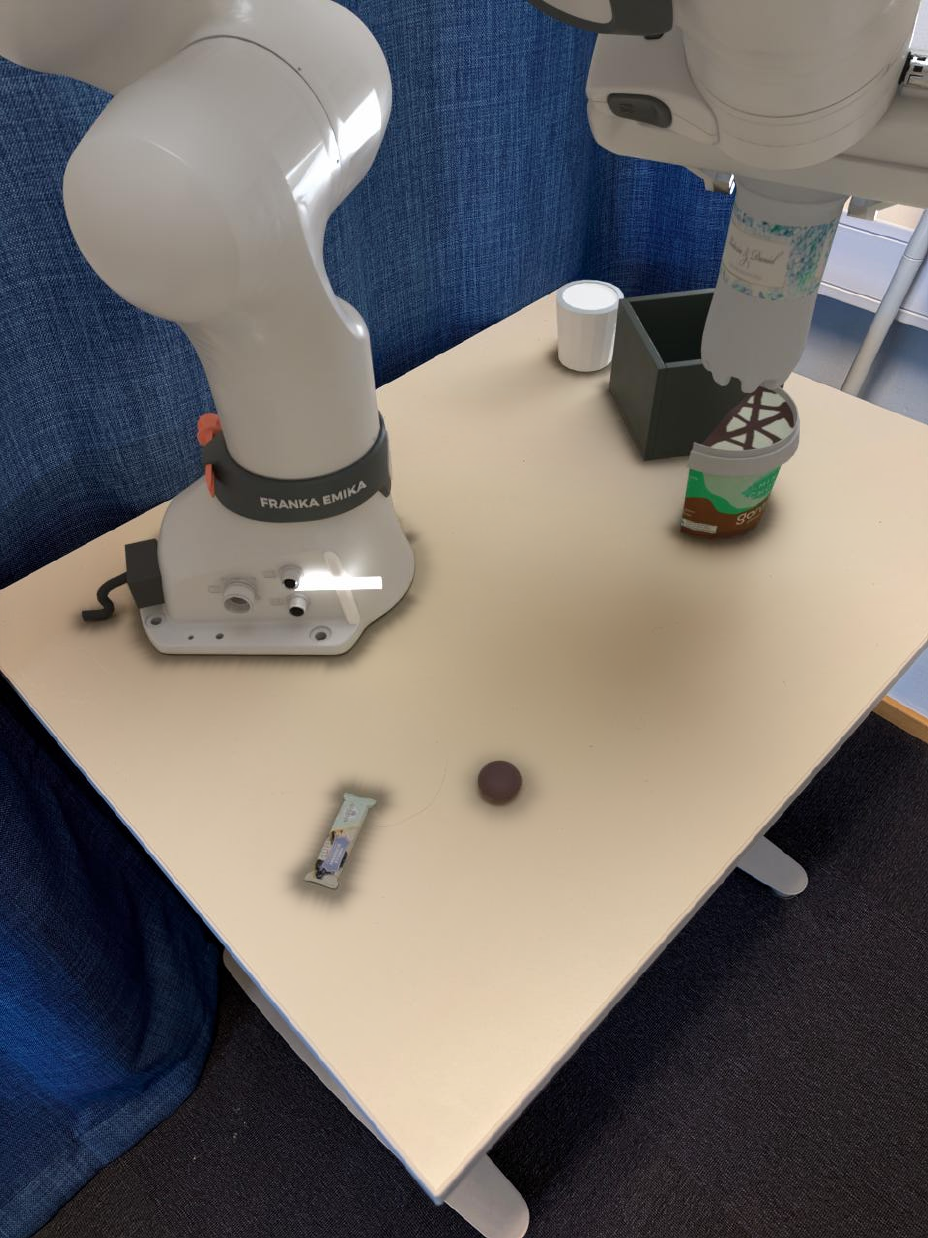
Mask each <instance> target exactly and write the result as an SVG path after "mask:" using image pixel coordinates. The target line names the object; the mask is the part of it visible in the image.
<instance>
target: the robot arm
mask: <svg viewBox="0 0 928 1238" xmlns="http://www.w3.org/2000/svg"><path fill="white" fill-rule="evenodd" d="M524 1H525V2H526V3H528V4H530V5H531V6H532V7H533V8H535V9H537V10H538V11H540V12H541V13H543V14H545V15H546V16H548V17H550V18H552V19H554V20H556V21H559V22H560V23H562V24H565V25H568V26H570V27H572V28H576V29H579V30H582V31H585V32H590V33H595V34H597V38H596V41H595V45H594V49H593V53H592V56H591V61H590V64H589V69H588V73H587V74H588V75H587V80H586V86H585V95H586V97H587V104H586V115H587V120H588V124H589V128H590V132H591V134H592V136H593V139H594V141H595V142H596V143H597V144H598V145H599V146H600V147H602V148H604V149H605V150H606V151H609V152H611V153H613V154H615V155H618V156H623V157H632V158H636V159H641V160H648V161H653V162H658V163H666V164H670V165H677V166H681V167H684V168H685V169H687V170H688V171H690V172H691V173H693V174H694V175H696V176H697V177H699V178H700V179H701V180H703V183H704V188H705V191H709V192H714V193H719V194H724V195H725V194H726V195H732V193H733V191H734V188H735V179H734V175H736V176H742V177H748V178H753V179H759V180H764V181H770V182H776V183H781V184H787V185H792V186H798V187H804V188H809V189H815V190H820V191H826V192H832V193H837V194H843V195H848V196H850V200H849V203H848V205H847V206H848V207H847V213H846V217H850V218H855V219H860V220H865V221H870V222H875V219H876V217H877V214H878V212H879V211H883V210H885V209H888V208H892V207H894V206H897V205H899V206H904V207H905V206H906V207H910V208H916V209H921V210H927V211H928V49H926V48H918V47H911V46H912V42H913V38H914V33H915V28H916V25H917V21H918V17H919V12H920V8H921V3H922V0H524ZM0 56H1V57H2V58H4V59H6V60H7V61H10V62H11V63H13V64H16V65H18V66H21V67H23V68H26V69H29V70H32V71H36V72H40V73H45V74H52V75H58V76H64V77H66V78H69V79H74V80H77V81H80V82H83V83H85V84H88V85H90V86H93V87H95V88H97V89H99V90H101V91H104V92H106V93H108V94H110V95H111V96H113V98H111V100H110V101H109V102H108V104H107V105H106V106H105V108H104V109H102V111H101V113H100V114H99V115H98V116H97V118H96V119H95V120H94V122H93V123H92V124H91V126H90V127H89V129H88V130H87V131H86V133H85V135H84V136H83V137H82V139H81V141H80V142H79V143H78V145H77V146H76V148H75V149H74V151H73V152H72V154H71V156H70V158H68V161H67V164H66V165H65V166H66V167H65V170H64V173H63V181H62V198H63V206H64V211H65V215H66V219H67V223H68V225H69V228H70V230H71V233H72V236H73V239H74V240H75V242H76V244H77V246H78V248H79V250H80V252H81V253H82V255H83V257H84V258H85V260H86V262H87V263H88V264H89V266H90V267H91V268H92V270H93V271H94V272H95V274H97V276H98V277H99V279H101V280H102V282H104V283H105V284H106V285H107V286H108V288H110V289H111V290H112V292H114V293H115V294H116V295H118V296H119V297H120V298H122V299H123V300H124V301H126V302H127V303H129V304H130V305H131V306H134V307H135V308H137V309H139V310H141V311H143V312H145V313H147V314H148V315H150V316H153V317H156V318H158V319H162V320H165V321H169V322H173V323H175V324H176V325H177V326H178V327H179V328H180V329H181V330H182V332H183V333H184V334H185V336H186V337H187V338H188V340H189V342H190V343H191V345H192V347H193V348H194V350H195V352H196V354H197V356H198V359H199V360H200V362H201V365H202V368H203V370H204V373H205V376H206V381H207V383H208V387H209V390H210V392H211V397H212V400H213V402H214V406H215V410H216V413H212V412H208V413H204V414H202V415H201V416H200V417H199V419H198V420H197V433H196V434H197V435H196V438H197V441H198V443H199V444H200V445H201V446H202V449H201V455H200V456H201V457H200V459H201V465H202V470H203V473H204V474H203V475H202V476H200V477H199V478H198V479H196V480H195V481H194V482H192V483H191V484H190V485H189V486H187V487H186V488H184V489H183V490H181V491H180V492H179V493H178V494H176V495H175V496H174V497H173V498H172V499H171V500H170V502H169V503H168V505H167V507H166V510H165V512H164V514H163V516H162V517H163V518H162V520H161V524H160V527H159V531H158V537H157V538H156V537H155V538H150V539H145V540H141V541H140V540H139V541H135V542H131V543H126V544H124V556H125V570H126V571H124V572H122V573H119V574H118V575H116V576H114V577H111V578H110V579H107V580H106V581H105V582H104V583H103V584H101V585H100V586H99V588H98V589H97V590H96V600H97V602H98V603H99V604H100V606H101V607H102V608H100V609H99V608H98V609H86V610H85V609H84V610H82V611H81V617H82V620H83V621H84V622H86V621H99V620H105V619H107V618H109V617H111V616H112V615H113V614H114V613H115V609H116V608H115V607H116V606H115V603H114V601H113V600H112V599H111V598H110V597H109V594H110V592H112V591H114V590H115V589H117V588H119V587H122V586H124V585H125V584H127V587H128V588H129V591H130V594H131V595H132V598H133V600H134V602H135V605H136V607H137V609H138V610H139V613H140V618H141V622H142V626H143V630H144V631H145V635H146V636H147V638H148V640H149V642H150V643H151V644H152V646H153V647H154V649H156V650H157V651H158V652H159V653H161V654H168V655H268V656H269V655H270V656H271V655H278V656H280V655H283V656H285V655H286V656H287V655H288V656H289V655H290V656H292V655H294V656H299V655H301V656H337V655H342V654H344V653H346V652H348V651H349V650H350V649H351V648H352V647H353V646H354V645H355V644H356V642H357V641H358V640H359V638H360V637H361V636H362V633H364V631H365V629H366V628H367V627H368V626H369V625H370V624H372V623H373V622H375V621H376V620H377V619H379V618H380V617H382V616H383V615H385V614H386V613H388V612H389V611H390V610H391V609H392V608H393V607H395V606H396V605H397V604H398V603H399V602H400V601H401V599H402V598H403V597H404V596H405V594H406V593H407V591H408V590H409V587H410V586H411V584H412V582H413V578H414V575H415V570H416V559H415V554H414V551H413V548H412V546H411V544H410V542H409V540H408V538H407V536H406V534H405V532H404V530H403V528H402V525H401V522H400V520H399V517H398V514H397V511H396V507H395V504H394V501H393V497H392V480H393V465H392V455H391V446H390V439H389V433H388V430H387V429H386V425H385V420H384V417H383V415H382V413H381V412H380V410H379V408H378V400H377V391H376V379H375V372H374V364H373V355H372V347H371V346H372V345H371V337H370V331H369V329H368V325H367V324H366V322H365V320H364V318H363V316H362V315H361V314H360V312H359V311H358V310H357V309H356V308H355V307H354V306H353V305H352V304H351V303H349V302H347V300H345V299H343V298H341V297H339V296H338V295H336V294H335V293H334V290H333V288H332V285H331V283H330V280H329V277H328V274H327V271H326V267H325V263H324V261H325V260H324V241H325V240H324V239H325V233H326V228H327V224H328V221H329V219H330V217H331V215H332V214H333V212H334V211H336V210H337V208H338V207H339V206H340V205H341V204H342V203H343V202H344V200H346V198H347V197H348V196H349V194H351V192H352V191H353V190H354V189H356V187H357V186H358V185H359V184H360V182H362V180H363V179H364V178H365V176H366V175H367V174H368V172H369V171H370V169H371V167H372V165H373V164H374V161H375V160H376V157H377V154H378V151H379V149H380V147H381V144H382V142H383V139H384V136H385V133H386V130H387V127H388V123H389V120H390V117H391V114H392V113H391V112H392V107H393V106H392V105H393V87H392V78H391V73H390V70H389V66H388V63H387V59H386V57H385V55H384V52H383V50H382V48H381V46H380V44H379V42H378V41H377V39H376V37H375V35H374V34H373V33H372V32H371V30H370V29H369V27H368V26H366V24H365V23H364V22H363V20H361V19H360V18H359V17H358V16H357V15H356V14H354V13H353V12H352V11H351V10H349V9H348V8H347V7H346V6H343V5H341V4H340V3H338V2H335V1H333V0H0Z"/></svg>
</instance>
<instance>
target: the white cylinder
mask: <svg viewBox="0 0 928 1238" xmlns="http://www.w3.org/2000/svg"><path fill="white" fill-rule="evenodd" d="M621 298H625V296H624V293H623V292H622V290H621V289H620V288H619V287H617V286H615V285H613V284H612V283H609V282H606V281H601V280H593V279H581V280H576V281H571V282H569V283H566V284H565V285H562V286H561V287H560V288H559V289H558V290H557V291H556V297H555V301H556V302H555V305H556V327H557V329H556V331H557V353H558V357H557V358H558V360H559V361H560V363H561V365H563V366H564V367H566V368H568V369H569V370H572V371H577V372H585V373H586V372H587V373H591V372H595V371H600V370H602V369H604V368H606V367H608V365H609V364H610V363H611V362H612V355H613V346H614V338H615V329H616V320H617V311H618V302H619V299H621Z"/></svg>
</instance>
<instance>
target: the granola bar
mask: <svg viewBox="0 0 928 1238" xmlns="http://www.w3.org/2000/svg"><path fill="white" fill-rule="evenodd" d="M343 799H344V801H343V803H342V804H341V807H340V809H339V811H338V813H337V815H336V817H335V819H334V821H333V823H332V826H331V828H330V830H329V833H328V835H327V836H326V838H325V841H324V843H323V845H322V848H321V850H320V851H319V854H318V856H317V858H316V861H315V863H314V865H313V866H312V871H310V872H308V873H306V874H305V877H304V879H303V881H305V882H312V883H316V884H320V885H322V886H325V887H328V888H331V889H337V887H338V886H339V881H338V880H339V879H340V876H341V874H342V872H343V870H344V867H345V866H346V863H347V860H348V859H349V856H350V854H351V852H352V850H353V847H354V845H355V842H356V840H357V838H358V836H359V834H360V831H361V829H362V827H363V824H364V822H365V820H366V818H367V815H368V813H369V810H370V809H372V808H373V807H374V806H375V805H376V804H377V801H378V800H377V799H374V798H371V797H365V796H364V797H363V796H362V797H361V796H357V795H355V794H351V793H347V792H344V794H343Z"/></svg>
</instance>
